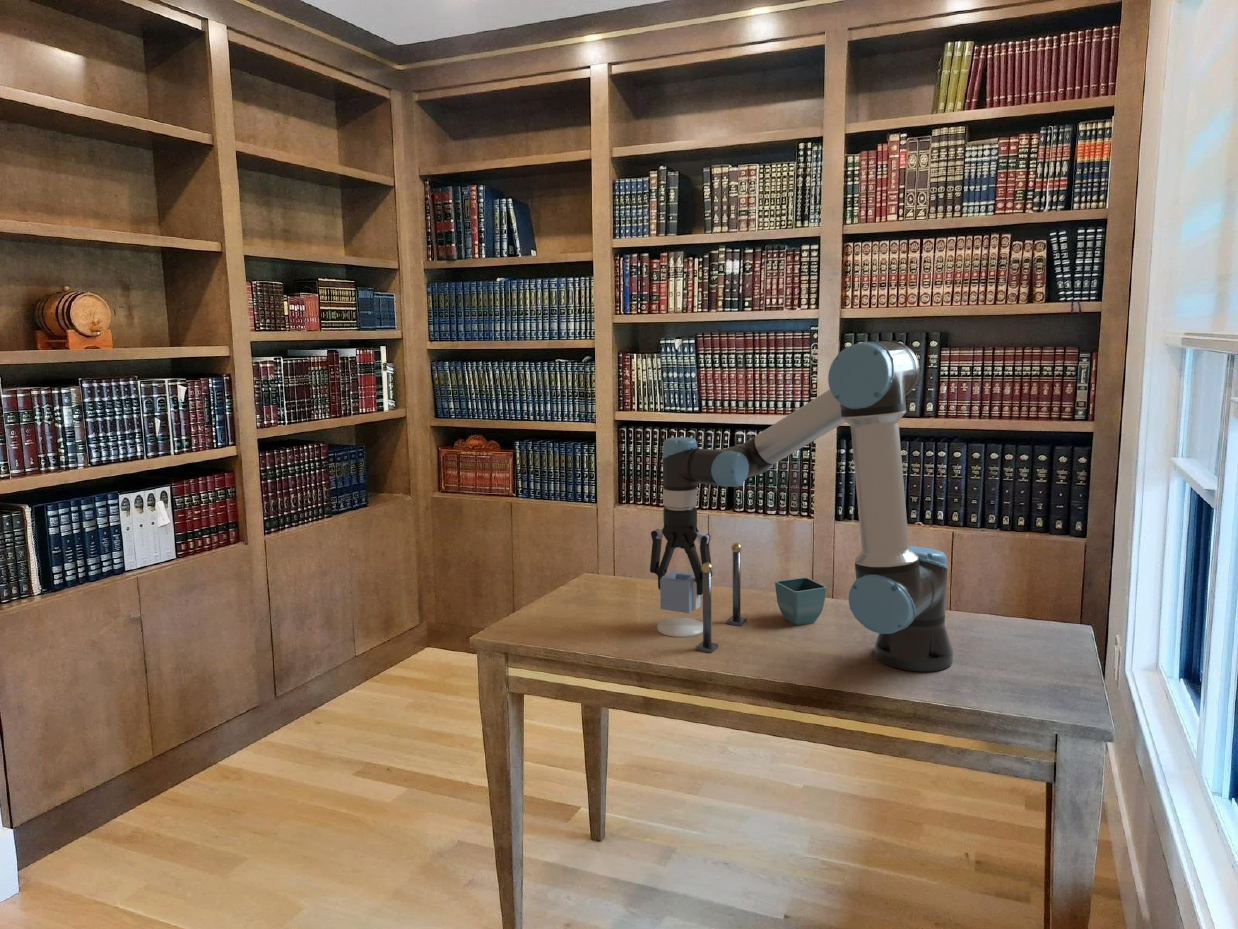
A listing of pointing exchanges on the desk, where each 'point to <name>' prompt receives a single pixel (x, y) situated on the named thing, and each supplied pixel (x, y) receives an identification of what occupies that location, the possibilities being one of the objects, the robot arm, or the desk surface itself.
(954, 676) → the desk surface
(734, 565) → the gold-tipped post pair
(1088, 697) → the desk surface
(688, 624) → the white round disc
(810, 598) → the flower pot
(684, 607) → the hollow square tube
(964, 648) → the desk surface
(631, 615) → the desk surface
